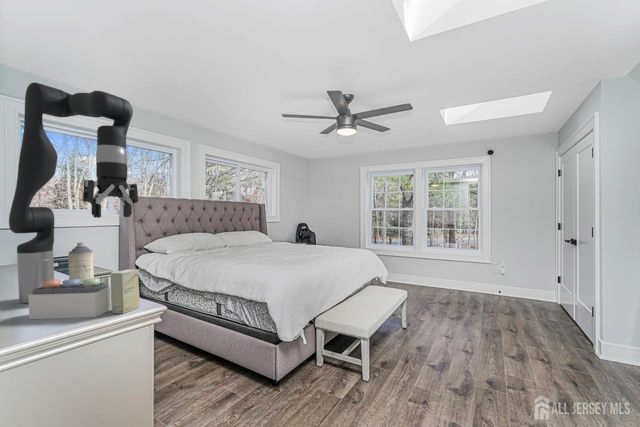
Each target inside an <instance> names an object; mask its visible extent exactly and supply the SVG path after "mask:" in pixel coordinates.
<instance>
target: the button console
mask: <svg viewBox="0 0 640 427" xmlns="http://www.w3.org/2000/svg"><path fill="white" fill-rule="evenodd" d="M32 293H33V294H31V295H28V297H29V303H28V316H29V317H28V319H29V320H47V319H49V320H50V319H82V318H85V319H86V318H97V317H99V316H101V315H103V314H105V313H107V312H109V311H112V308H111V286H109V282H100V285H99V286H96V287H91V288H83V284H80V286H78V287H75V288H63V283H62V284H61V283H60V287H56V288H53V289H42V287H40V288H37V289H33V290H32Z"/></svg>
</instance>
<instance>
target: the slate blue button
mask: <svg viewBox="0 0 640 427" xmlns="http://www.w3.org/2000/svg"><path fill="white" fill-rule="evenodd" d="M62 284H63V288H75V287H78V286H80V279H69V278H68V279H64V280H62Z"/></svg>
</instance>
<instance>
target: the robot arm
mask: <svg viewBox="0 0 640 427" xmlns="http://www.w3.org/2000/svg"><path fill="white" fill-rule="evenodd" d="M133 113H134V110H133V107H132V104H131V102H130V101H129V100H127V99H125V98H123V97H120V96H117V95H114V94H111V93H109V92H106V91H102V90H94V91H91V92H76V93H73V94H71V93H69V92H67V91H64V90H62V89H59V88H56V87H53V86H50V85H46V84H42V83H39V82H36V81H35V82H31V83H29V84H28V86H27V88H26V91H25V97H24V117H23V118H24V120H23V122H24V123H23V132H22V140H21V147H20V152H19V159H18V168H17V178H16V186H15V190H14V196H13V198H12V204H11V207H10V211H9V214H8V215H9V216H8V226H9V229H10V231H11V232H12V233H14V234H31V233H35V234H36V235H35V236H34V237H33V238H31V240H28V241H25V242H22V243H20V244H18V245H17V247H16V254H17V255H16V258H17V260H16V261H17V280H18V282H17V283H18V303H19V304H29V297H28V295H31V294H33V293H32V290H33V289H37V288H40V287H42V282H43V281H47V280H54V279H55V265H54V261H55V260H54V259H55V258H54V242H55V214H54V212H53V210H52V209H51V208H50V207H47V206H31V203H32V201H33V199H34V197H35V195H36V194H37V193H38V192H39V191H40V190H41V189H42V188H43V187H44V186H45V185H47V183H48V182H50V181H51V179H52V178H54V176H55V174H56V170H57V163H58V157H59V156H58V153H57V151H56V149H55V147H54V145H53V143H52V142H51V140H50V139H49V137H48V135H47V133H46V130H45V129H44V123H43V122H44V121H43V116H44V115H47V116H52V117H56V118H70V117H75V116H83V117H88V118H105V119H109V120H112V121H113V124H112V125H109V124H108V125H106V124H105V125H100V126H98V127H97V129H96V130H97V131H96V140H97V141H96V142H97V146H96V147H97V148H96V153H95V158H96V159H95V160H96V161H95V162H96V166H95V168H96V178H97V179H96V181H95V180H92V179H86V180H84V181H83V193H82V194H83V195H82V201H83V202H85V203H90V204H91V215H92V216H93V218H96V219H99V218H101V217H102V204H101V202H102V201H103V200H104V199H105V198H106V197H113V198H118V199H119V200H120V201H121V202H122V203H123V205H122V206H123V210H122V211H123V217H124V218H130V217H131V216H132V213H133V210H132V209H133V208H132V207H133V206H132V205H133V204H136V203H138V202H139V193H138V184H137V183H129V184H128V183H127V180H128V152H127V134H128V131H129V126H130V124H131V121H132V118H133ZM95 188H97V189H98V190H97V191H96V192H95ZM127 191H128V192H127ZM94 193H95V194H94Z"/></svg>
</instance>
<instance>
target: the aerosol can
mask: <svg viewBox="0 0 640 427" xmlns="http://www.w3.org/2000/svg"><path fill="white" fill-rule="evenodd" d="M67 258H68V260H67V261H68V280H69V279H80V284H83V280H86V279H92V278H95V276H94V275H95V274H94V272H95V271H94V252H93V250H92V249H90V248H89V247H88V246H86V245H85V244H84V242H77V243H76V246H75V247H74V248H72V250H70V251H68V257H67Z"/></svg>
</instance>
